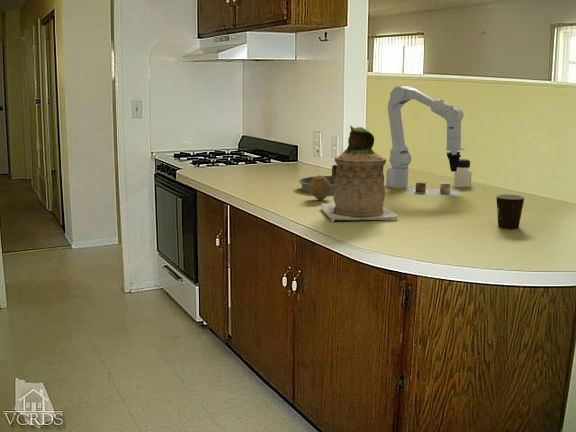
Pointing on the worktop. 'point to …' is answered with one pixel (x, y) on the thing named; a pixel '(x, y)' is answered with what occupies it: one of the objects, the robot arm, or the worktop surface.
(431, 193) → the grey flat slab
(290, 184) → the worktop surface
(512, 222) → the coffee mug
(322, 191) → the natural sponge
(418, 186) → the walnut block
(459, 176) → the medicine bottle
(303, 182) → the cake pan
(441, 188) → the maple block
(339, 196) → the cookie jar
